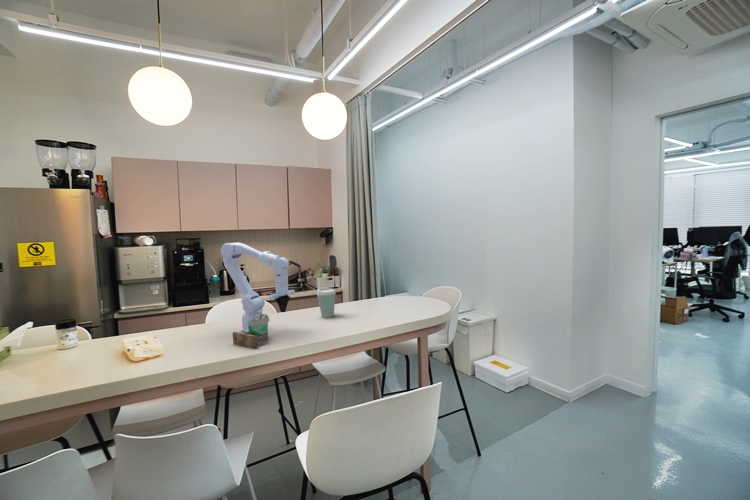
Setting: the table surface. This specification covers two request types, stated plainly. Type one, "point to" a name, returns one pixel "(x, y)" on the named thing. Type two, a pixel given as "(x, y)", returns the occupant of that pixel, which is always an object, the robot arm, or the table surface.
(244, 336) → the holder bay
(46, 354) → the table surface
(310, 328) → the table surface
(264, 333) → the food container
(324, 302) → the disposable coffee cup
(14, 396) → the table surface
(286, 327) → the table surface
